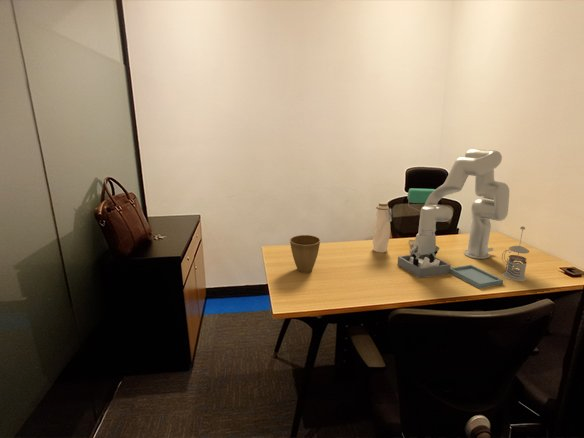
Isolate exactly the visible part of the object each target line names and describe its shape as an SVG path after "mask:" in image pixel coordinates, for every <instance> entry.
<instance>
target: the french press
mask: <svg viewBox="0 0 584 438" xmlns="http://www.w3.org/2000/svg"><path fill="white" fill-rule="evenodd" d="M519 230H521V234H520V235H521V236H520V242H519V244H521V242H522V237H523V232H524V230H526V227H525V226H520V229H519ZM507 252H508V253H509V254H510V253H512V252H513V253H517V255H516V254H511V255H508V258H507V260H506V257H505V255H506V253H507ZM528 253H530V250H529V249H527V248H525V247H524V246H522V245H513V246H509V247H508V249H506V250H504V251H503V253H501V255H502V256H501V260H502V262H503V264H505V271H504V272H503V273H502V274H501V275H502V276H503V278H505V279H508V280H510V281H515V282H525V281H526V280H527V278H526V276H525V274H526V267H527V263H528V262H527V258H526V257H525V256H523V255H520V254H528Z"/></svg>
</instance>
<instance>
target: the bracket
mask: <svg viewBox="0 0 584 438" xmlns="http://www.w3.org/2000/svg"><path fill="white" fill-rule="evenodd" d="M418 259H419V258H418ZM429 260H430V259H429V258H427V257H425V258H424V260H423V259H419V262H418V267H419V268H427V267H434V266H439V263H440V261H439V260H437V259H435V260H434V261H433V262H432V263H430V262H429ZM409 262H410V263H412V264H413V257H410V260H409Z"/></svg>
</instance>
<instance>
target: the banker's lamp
mask: <svg viewBox="0 0 584 438" xmlns="http://www.w3.org/2000/svg"><path fill="white" fill-rule="evenodd" d="M434 190H436V189H435V188H414V187H413V188H412V187H411V188H409V189H408V192H407V198H406V199H407V200H408V201H407V203H408V204H407V206H408V208H411V209H413V210H416V211H418V212H421V210H419V209H417V208H415V207H413V206H411V205H410V204H425V203H426V201H427V199H428V197H429V195H430V194H431V193H432V192H433V191H434ZM438 203H439V202H438ZM438 203H437V204H438ZM438 205H439V204H438ZM414 242H415V239H408V245H409V247H410V250H411V249H413V248H414ZM414 253H415V252H414Z"/></svg>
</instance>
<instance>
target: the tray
mask: <svg viewBox="0 0 584 438" xmlns="http://www.w3.org/2000/svg"><path fill="white" fill-rule="evenodd" d="M449 274H451V275H453V276H454V277H457V278H458V279H461V280H462V281H464V282H466V283H468V284H470V285H472V286H474V287H476V288H478V289H484V288H489V287H494V286H499V285H503V284H504V279H503V278H501V277H498V276H496V275H494V274H492V273H489V272H488V271H487V270H483V269H481V268H479V267H477V266H474V265H473V264H466V265H461V266H455V267H450V273H449Z"/></svg>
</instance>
